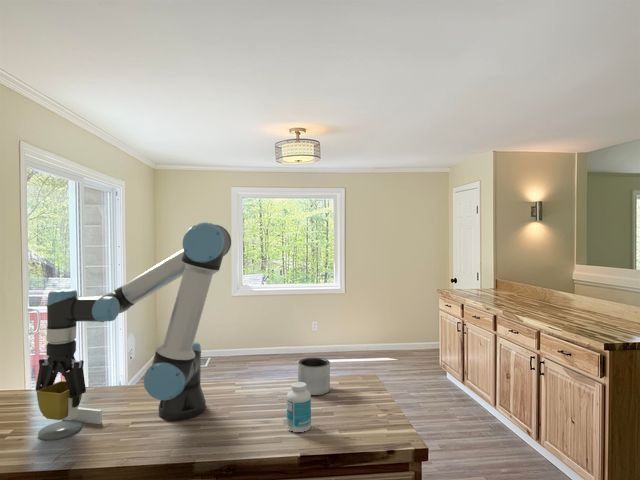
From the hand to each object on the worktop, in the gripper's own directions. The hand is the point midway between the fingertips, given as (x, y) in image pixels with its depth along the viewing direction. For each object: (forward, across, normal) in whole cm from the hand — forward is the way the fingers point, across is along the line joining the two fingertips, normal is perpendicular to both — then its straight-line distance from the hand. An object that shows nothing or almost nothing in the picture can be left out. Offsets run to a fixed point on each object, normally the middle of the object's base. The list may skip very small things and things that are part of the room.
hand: (60, 415), depth 118 cm
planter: (+4, -68, -48) cm, 84 cm away
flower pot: (0, 0, 0) cm, 0 cm away
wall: (+5, -1, -7) cm, 8 cm away
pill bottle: (+4, -70, -17) cm, 72 cm away
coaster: (+5, 0, 0) cm, 5 cm away
